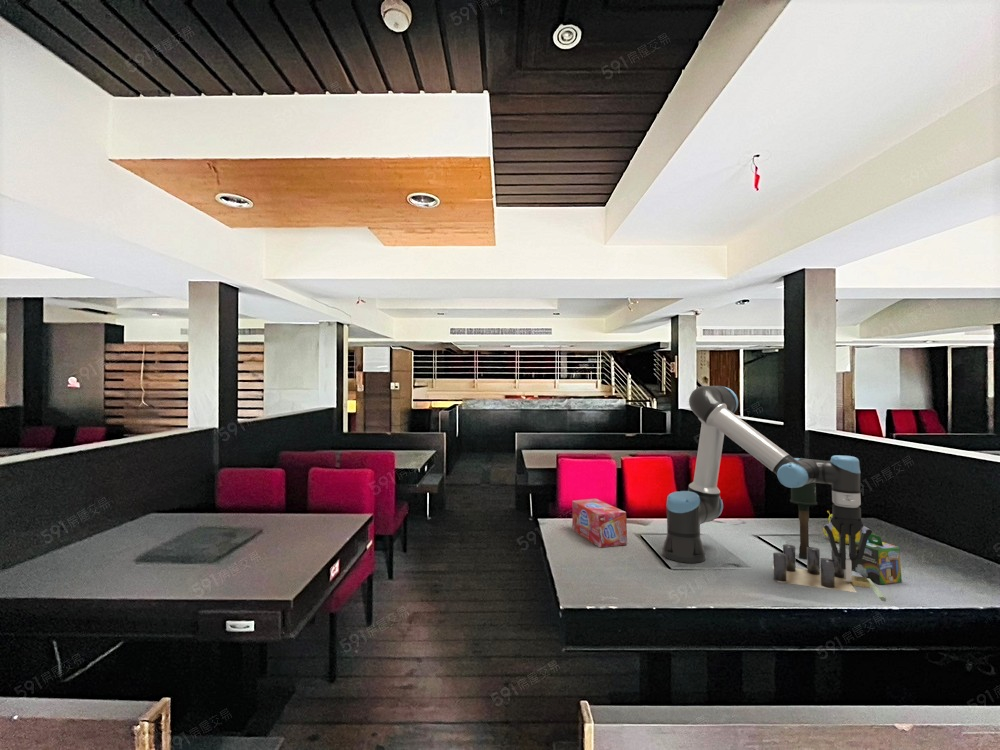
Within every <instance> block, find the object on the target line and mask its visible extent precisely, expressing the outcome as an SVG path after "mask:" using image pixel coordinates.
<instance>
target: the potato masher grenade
mask: <svg viewBox="0 0 1000 750" xmlns="http://www.w3.org/2000/svg"><path fill="white" fill-rule="evenodd" d="M816 484H817V483H815V482H812V483H809V484H806V485H804V486H802V487H798V488H790V499H789V502H790V503H792V504H795V505H797V507H798V521H799V542H800V543H799V549H798V550H799V551H798V552H799V554H798V558H799V559H802V560H807V547H810V544H809V543H810V541H809V540H810V539H809V521H810V507H811V506H817V505H818V502H817V485H816Z"/></svg>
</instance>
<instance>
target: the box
mask: <svg viewBox="0 0 1000 750" xmlns="http://www.w3.org/2000/svg"><path fill="white" fill-rule="evenodd" d="M571 508H572V519H571V520H572V526H571V527H572V531H574V532H575V533H577V534H578V535H579V536H581V537H583V538H584V539H586V540H588V541H589V543H592V544H594V545H595V546H596V547H598V548H606V547H608V548H609V547H616V546H617V547H618V546H627V545H628V543H627V542H628V532H627V531H628V530H627V527H628V525H627V522H628V521H627V512H626V511H624V510H622V509H620V508H618V507H616V506H613V505H611V504H609V503H607V502H605V501H603V500H600V499H598V498H586V499H578V500H577V499H576V500H572V507H571Z"/></svg>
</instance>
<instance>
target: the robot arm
mask: <svg viewBox="0 0 1000 750" xmlns="http://www.w3.org/2000/svg"><path fill="white" fill-rule="evenodd" d="M689 395H690V396H689V399H688V405H689V408H690V410H691V411H692V413H694V415H695V416H696V417H697V418H698V420H699V421H700V423H701V425H700V426H701V427H700V433H699V440H698V447H697V454H696V455H697V456H696V461H695V469H694V476H693V481H692V482H690V483H689V484H688V488H687V490H680V491H678V490H677V491H673V492H671V493H669V494H668V495H667V498H666V528H667V529H666V532H667V534H666V536H665V539H664V544H663V546H662V556H663V555H664V556H665V557H664V556H663V557H664V558H666V557H667V558H666V559H668V558H669V560H670V559H671V560H670V561H674V560H675V561H674V562H678V563H684V562H685V563H686V564H696V563H702V562H704V561H706V559H707V558H706V557H707V556H706V550H705V547H704V544H703V541H702V539H701V525H702V524H705V523H709V522H712V521H714V520H717V518H719V516H721V514H722V512H723V509H724V503H723V499H721V490H720V489H719V487H718V481H719V473H720V466H721V460H722V452H723V445H724V440H725V439H724V438H725V436H726V437H728V438H729V439H730V440H731V441H732V442H734V443H735V444H737V445H738V446H739V447H741V448H742V449H743V450H745V452H747V453H748V454H749V455H751V456H753V458H755V460H757V461H759V462H760V463H761V464H762V465H764V466H765V467H766V468H768V469H769V470H770V471H771V472H773V473H774V474H775V475H776V476H777V479H778V481H779V483H780V484H781V485H783V486H784V487H786V488H790V489H791V488H798V487H802V486H804V485H806V484H809V483H812V482H815V483H816V484H825V485H831V502H832V505H831V508H832V509H831V511H832V513H831V514H832V518H830V519H831V522H830V523H829V522H827V523H824V524H822V527H823V528H825V532H826V534H827V535H828V536H827V538H828V541H829V543H830V548H831V550H832V551H833V554H834V555H835V556H836V557H839V558H840V567H841V568H842V569H844V578H845V580H846V581H849V582H850V581H851V582H852V576H853V574H852V573H853V572H852V571H855V561H856V560H857V559H862V558H863V554H864V551H865V547H866V543H867V540H868V537H869V536H870V534H873V531H872V530H871V529H870V528H869V527H866V526H865V525H864V523H863V521H862V508H861V507H860V506H861V505H862V503H861V502H862V501H861V500H862V499H861V473H862V472H861V468H860V460H859V458H858V457H855V456H853V455H852V456H851V455H840V454H839V455H837V454H836V455H832V456H831V457H830V460H823V459H821V460H820V459H811V458H810V459H809V458H805V457H804V458H803V457H800V458H799V457H793V456H792V455H790V454H789V453H788V452H786V451H785V450H784V449H782V448H781V447H779V446H778V445H777V444H775V443H774V442H773V441H771V440H770V439H768V438H767V437H766V436H765V435H763V434H762V433H760V432H759V431H758V430H756V429H755V428H754V427H752V426H751V425H750V424H748V423H747V422H746V421H744V420H743V419H742V418H740V417H739V416H738V415H736V414H735V412H736V411H737V410H738V407H739V399H738V396H737V394H736V393H735V392H734V391H733V390H732V389H731V388H729V387H726V386H722V385H702V386H701V385H700V386H699V387H697V388H695V389H694V390H693V391H692V392H691V393H690V394H689ZM832 526H834V527H835V529H836V530H837V531H838V532H839V542H838V544H839V545H838V547H839V549H838V547H837V542H836V541H835V540H834V536H833V533H832V530H833V528H832ZM859 531H860V536H861V538H860V541H859V545H858V548H857V552H856V551H855V538H856V536H855V535H856V534H857V533H858V532H859ZM847 534H848V536H849V544H848V557H847V555H846V554H847V551H846V548H847V547H846V546H847V544H846V541H845V538H846V535H847ZM838 550H839V552H838Z"/></svg>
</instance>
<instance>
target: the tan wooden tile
mask: <svg viewBox="0 0 1000 750" xmlns="http://www.w3.org/2000/svg"><path fill="white" fill-rule="evenodd" d="M849 582H850V583H851V585H852V586H853V587H860V588H866V589H867V588H868V589H871V587H870V582H869V581H868V579H867V578H866V577H862V576H858V575H857V576H856V575H852V582H851V581H849Z"/></svg>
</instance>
